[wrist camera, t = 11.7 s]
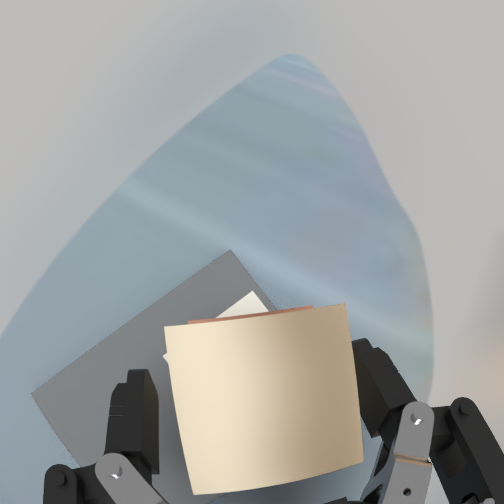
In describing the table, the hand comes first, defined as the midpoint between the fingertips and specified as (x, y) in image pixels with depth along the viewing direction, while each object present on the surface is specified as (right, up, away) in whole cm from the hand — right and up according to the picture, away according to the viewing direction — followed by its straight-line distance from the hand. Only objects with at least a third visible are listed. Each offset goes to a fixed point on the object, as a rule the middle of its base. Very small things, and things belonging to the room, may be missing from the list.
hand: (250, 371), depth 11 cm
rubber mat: (-5, -5, +6) cm, 9 cm away
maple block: (-1, -3, +6) cm, 7 cm away
